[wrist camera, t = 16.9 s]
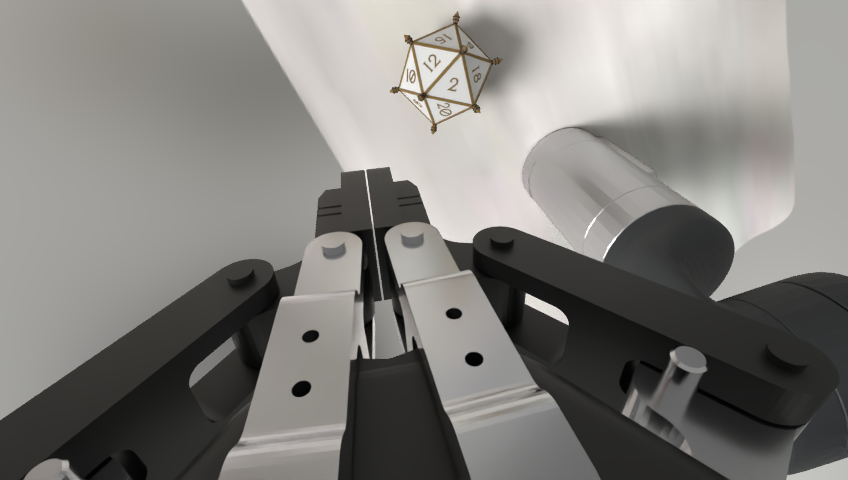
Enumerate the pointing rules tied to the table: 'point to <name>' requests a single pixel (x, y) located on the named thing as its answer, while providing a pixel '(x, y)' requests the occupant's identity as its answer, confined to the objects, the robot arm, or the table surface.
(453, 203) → the table surface
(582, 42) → the table surface
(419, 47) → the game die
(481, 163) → the table surface
